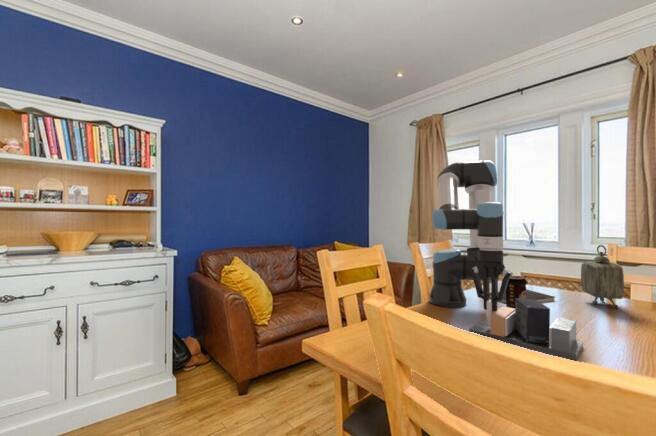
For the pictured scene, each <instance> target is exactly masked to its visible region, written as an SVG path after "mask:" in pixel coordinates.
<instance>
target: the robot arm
mask: <svg viewBox="0 0 656 436" xmlns="http://www.w3.org/2000/svg"><path fill="white" fill-rule="evenodd" d="M497 175H498V173H497V168H496V166H495V163H494V162H493V161H492V160H482V159H481V160H477V161H476V160H475V161H461V162H460V161H459V162H458V161H457V162H453V163H451V164H449V165H447V166H445V167H444V168H443V169H441V171H440V172H439V174H438V175H437V177H436V186H437V188H438V203H437V204H438V205H437V207H438V208H437V209H434V210H432V227H433V229H435V230H443V231H445V230H450V231H451V230H467V231H468V230H469V242H470V243H469V246H468V247H467V248H466V252H462V250H461V249H459V248H449V249H448V248H447V249H442V250H437V251H435V252H434V253H433V258H432V265H433V268H432V269H433V272H432V273H433V274H432V276H433V278H432V282H433V285H432V287H431V291H430V293H429V303H430V302H431V304H432V303H433V304H432V305H434V304H435V306H437V305H440V306H439V307H442V306H445V307H444V308H461V307H462V306H463V307H465V306H466V305H467V298H466V294H465V291H464V289H463V286H462V283H463V282H462V281H473V283H474V287H475V291H476V295H477V298H480V299H482V300H483V310H485V311H486V321H490V315H491V314H492V313H493V312H495V311H496V310H498V302H501V300H503V299H504V296H505V292H506V289H507V285H508V282H509V278H510V277H511V276H514V273H513V272H512V271H509V270H507V269H506V266H505V264H504V250H502V249H504V236H503V235H504V234H503V233H504V207H503V203H501V202H497V201H495V202H491V195H490V194H491V192H492V191H493V190H494V187H496V186H497V184H498V177H497ZM458 188H464V191H465V192H466V193H467V194H468V208H459V195H458V193H459V191H458ZM501 274H502V276H503V278H502V281H501V283H500V288H499V285H498V284H499V278H500V275H501ZM481 282H482V283H481ZM490 282H491V285H490ZM490 286H491V288H490ZM490 289H491V292H490ZM498 292H499V295H498ZM490 293H491V298H490Z"/></svg>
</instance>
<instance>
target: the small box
mask: <svg viewBox="0 0 656 436" xmlns="http://www.w3.org/2000/svg"><path fill="white" fill-rule="evenodd" d="M550 311H551V309H550V307H548V306H546V305H545V304H543V302H539V301H537V300H534V299H521V298H515V330H516V332H517V333H518V334H519V335H520V336H521V337H522V338H523V339H524V340H525V341H526V342H532V343H543V344H549V328H550V326H551V324H550V323H551V322H550V321H551V320H550V319H551V318H550V317H551V312H550Z"/></svg>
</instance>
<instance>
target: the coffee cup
mask: <svg viewBox="0 0 656 436" xmlns="http://www.w3.org/2000/svg"><path fill="white" fill-rule="evenodd" d="M528 284H529V282H528V281H527V278H525V277H523V276H520V275H512V276H511V277H510V278H509V282H508V285H507V289H506V292H505V296H506V297H505V298H506V303H505V305H506V306H505V307H509V308H514V309H515V298H521V299H525V298H526V289H527V286H526V285H528Z"/></svg>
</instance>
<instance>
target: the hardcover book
mask: <svg viewBox="0 0 656 436" xmlns="http://www.w3.org/2000/svg"><path fill="white" fill-rule="evenodd" d="M498 295H499V291H498ZM505 297H506V296H504V299H503V300H501V301H500V302H502V303H505V304H506V298H505ZM555 298H556V296H554V295H549V294H546V293H542V292H538V291H534V290H530V289H527V288H526V298H525V299H534V300H537V301H539V302H540V303H547V302H553V301H555ZM489 299H491V292H490V298H489Z"/></svg>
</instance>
